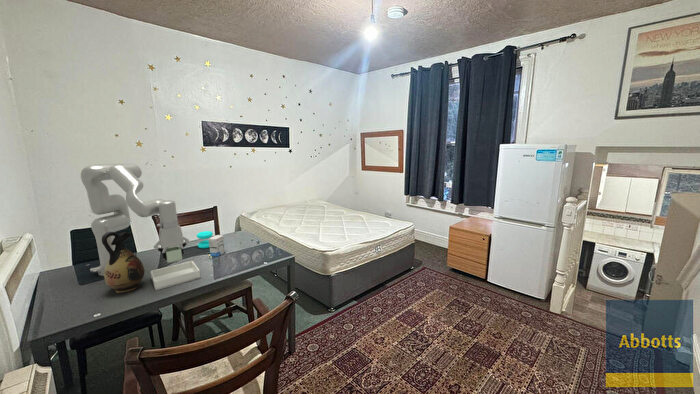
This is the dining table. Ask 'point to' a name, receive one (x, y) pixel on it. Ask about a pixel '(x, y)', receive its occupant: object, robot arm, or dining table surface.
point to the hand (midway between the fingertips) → (173, 257)
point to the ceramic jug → (122, 264)
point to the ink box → (216, 245)
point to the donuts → (204, 236)
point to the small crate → (173, 254)
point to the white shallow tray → (174, 275)
